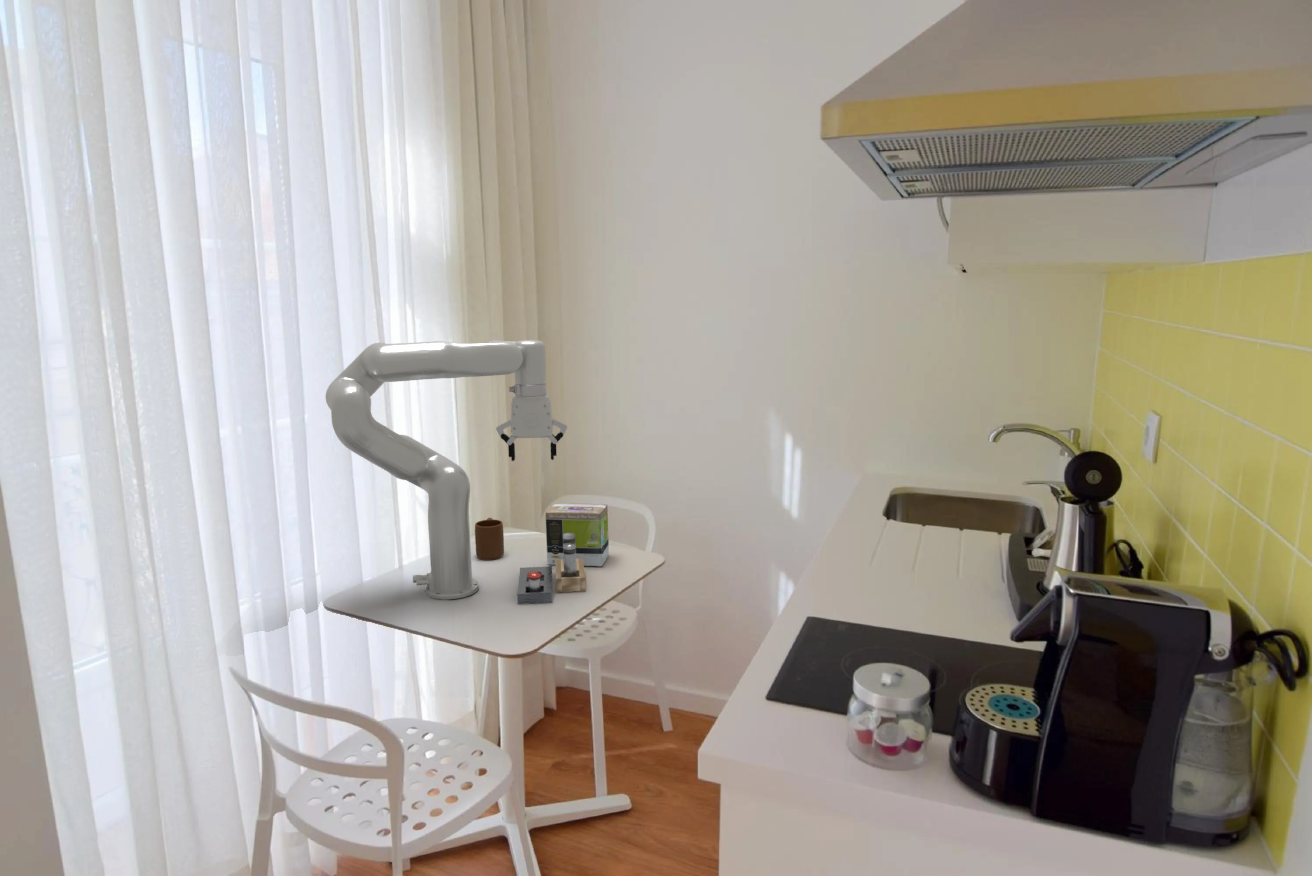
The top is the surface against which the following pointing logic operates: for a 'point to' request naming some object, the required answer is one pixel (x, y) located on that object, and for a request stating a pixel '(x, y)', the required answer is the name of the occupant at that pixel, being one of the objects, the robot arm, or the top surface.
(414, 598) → the top surface
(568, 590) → the rack
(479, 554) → the mug
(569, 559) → the grey metal cylinder
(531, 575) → the red topped peg
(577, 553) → the tea box
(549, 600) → the socket block
